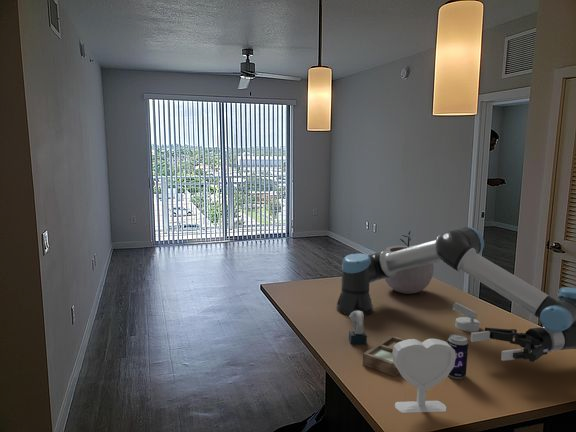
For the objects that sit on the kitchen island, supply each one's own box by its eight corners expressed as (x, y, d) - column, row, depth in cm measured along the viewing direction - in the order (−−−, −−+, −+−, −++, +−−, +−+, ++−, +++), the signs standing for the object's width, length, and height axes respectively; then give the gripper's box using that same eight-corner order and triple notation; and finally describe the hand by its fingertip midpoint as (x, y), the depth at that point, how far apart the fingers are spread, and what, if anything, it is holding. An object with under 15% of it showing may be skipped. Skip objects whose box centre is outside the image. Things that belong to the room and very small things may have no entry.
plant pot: (379, 283, 227) (382, 226, 223) (427, 286, 224) (430, 227, 220) (382, 298, 204) (385, 234, 200) (436, 301, 200) (440, 236, 196)
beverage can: (442, 371, 135) (444, 333, 133) (460, 370, 135) (463, 333, 134) (450, 380, 129) (453, 341, 128) (469, 379, 130) (472, 341, 128)
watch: (362, 336, 160) (364, 307, 158) (367, 346, 152) (368, 315, 150) (347, 336, 159) (348, 307, 158) (351, 346, 152) (352, 315, 150)
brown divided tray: (362, 364, 138) (362, 353, 138) (390, 345, 153) (391, 335, 152) (394, 376, 131) (395, 364, 131) (421, 355, 146) (421, 344, 145)
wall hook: (451, 298, 174) (478, 300, 172) (449, 322, 176) (476, 324, 174) (455, 306, 166) (483, 308, 164) (453, 330, 167) (481, 332, 165)
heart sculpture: (394, 413, 113) (398, 346, 110) (388, 402, 117) (391, 338, 115) (453, 411, 114) (458, 345, 111) (445, 400, 119) (449, 337, 116)
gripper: (577, 369, 127) (515, 377, 122) (513, 335, 151) (459, 341, 146) (579, 344, 126) (518, 351, 121) (515, 314, 150) (461, 319, 145)
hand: (486, 346), depth 133 cm, fingers open, 13 cm apart
